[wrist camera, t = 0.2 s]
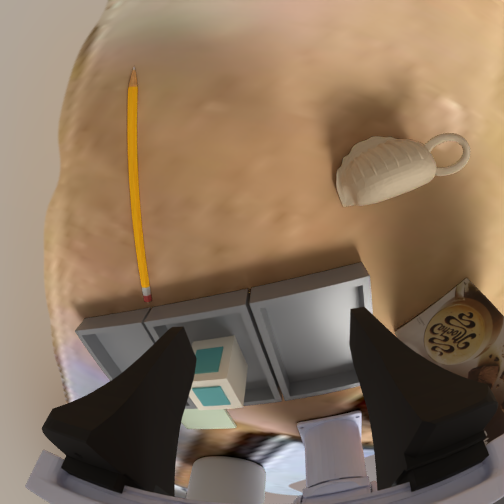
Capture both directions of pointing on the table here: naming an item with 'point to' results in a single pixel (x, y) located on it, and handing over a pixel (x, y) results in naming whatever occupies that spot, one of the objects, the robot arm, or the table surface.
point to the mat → (207, 419)
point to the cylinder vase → (227, 481)
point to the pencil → (136, 185)
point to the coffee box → (463, 342)
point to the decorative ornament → (391, 168)
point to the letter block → (218, 374)
